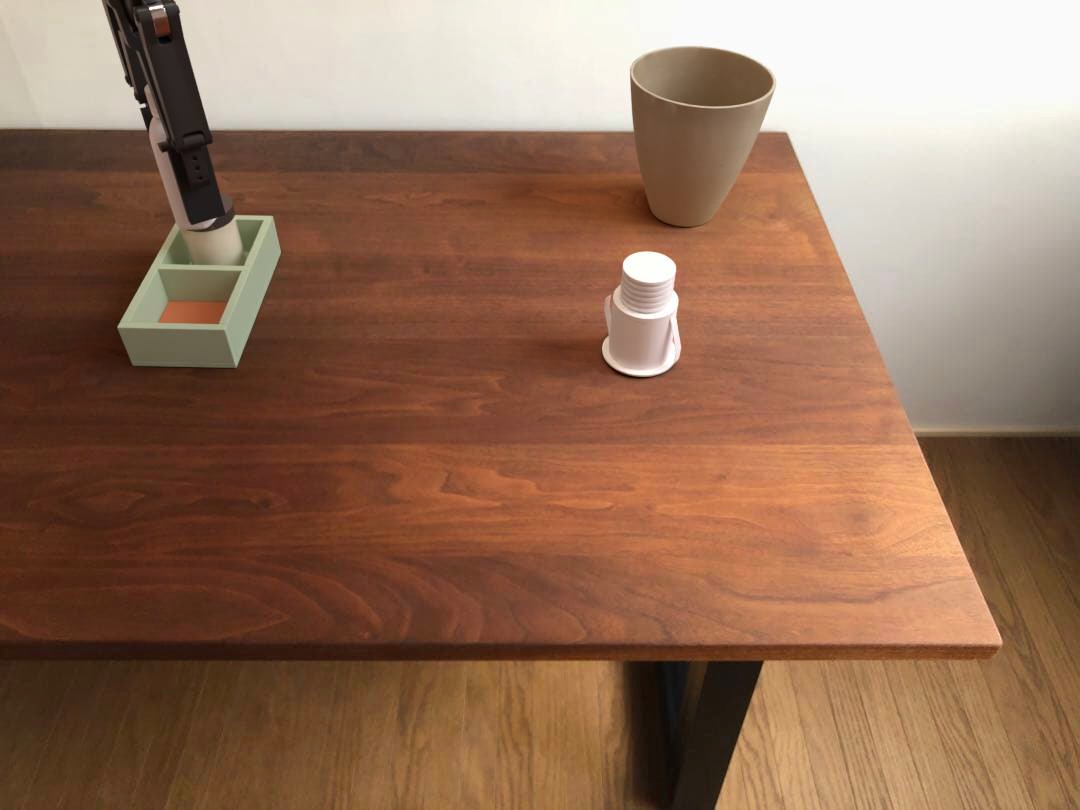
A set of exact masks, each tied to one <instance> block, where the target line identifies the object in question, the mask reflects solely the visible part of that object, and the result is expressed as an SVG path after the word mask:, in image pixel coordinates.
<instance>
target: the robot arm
mask: <svg viewBox="0 0 1080 810" xmlns="http://www.w3.org/2000/svg"><path fill="white" fill-rule="evenodd" d="M101 3H102V6H103V10H104V13H105V15H106V19H107V22H108V25H109V26H108V27H109V28H110V33H111V34H112V38H113V41H114V45H115V48H116V50H117V51H116V52H117V54H118V57H119V61H120V64H121V67H122V69H123V72H124V80H125V82H126V84H127V85H128V86H129V87H130V88H133V96H134V100H135V101H137V102H138V104H139V105H140V106H141V105H144V107H140V108H139V110H140V114H141V116H142V120H143V122H144V126H145V129H146V133H147V135H148V138H149V140H150V137H149V128H150V123H151V120H152V118H153V115H152V113H151V110H150V106H149V103H148V100H147V97H146V94H145V90H144V88H145V86H146V85H147V84H148V86H149V89H150V92H151V95H152V97H153V100H154V103H155V106H156V109H157V112H158V114H159V117H160V120H161V123H162V126H163V129H164V131H165V134H166V137H167V139H166V141H164V142H160V143H157V144H158V147H159V149H160V151H161V153H164V152H167V153H168V156H169V159H170V163H171V166H172V169H173V172H174V176H175V179H176V182H177V185H178V189H179V192H180V195H181V198H182V201H183V205H184V208H185V211H186V214H187V218H188V221H189V222H190V224H191V225H194V224H198V223H201V222H204V221H208V220H211V219H214V218H218V217H221V216H224V215H226V213H225V210H224V206H223V202H222V199H221V195H220V193H221V191H220V189H219V184H218V182H217V181H218V180H217V177H216V173H215V169H214V166H213V162H212V159H211V155H210V151H209V148H208V146H209V145H213V142H214V139H213V137H214V136H213V133H212V131H211V130H210V127H209V122H208V119H207V116H206V112H205V107H204V105H203V101H202V98H201V94H200V91H199V87H198V83H197V80H196V75H195V72H194V69H193V65H192V62H191V58H190V54H189V50H188V47H187V44H186V40H185V36H184V31H183V30H184V29H183V25H182V21H181V17H180V16H181V15H180V14H181V9H180V7H179V4H177V3H176V1H175V0H101Z"/></svg>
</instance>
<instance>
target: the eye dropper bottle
mask: <svg viewBox="0 0 1080 810" xmlns="http://www.w3.org/2000/svg"><path fill="white" fill-rule="evenodd" d="M144 90H145V94H146V97H147V100H148V103H149V106H150V110H151V113H152V115H153V118H152V120H151V123H150V128H149V135H148V138H149V137H150V139H149V141H150V145H151V150H152V152H153V156H154V158H155V162H156V165H157V169H158V171H159V174H160V177H161V180H162V184H163V187H164V190H165V193H166V195H167V199H168V203H169V206H170V209H171V212H172V215H173V218H174V220H175V221H174V222H175V223H176V224H177V226H178V227H179V228H180V229H182V230H195V229H205V228H207V227H209V226H210V225H211V224H212V223H213V222H214V221H215V220H216V218H214V219H211V220H208V221H204V222H201V223H198V224H194V225H191V224H190V222H189V221H188V218H187V214H186V211H185V208H184V205H183V201H182V198H181V195H180V192H179V189H178V185H177V182H176V179H175V176H174V172H173V169H172V166H171V163H170V159H169V156H168V153H167V152H164V153H161V151H160V149H159V147H158V144H157V143H160V142H164V141H166V139H167V137H166V134H165V131H164V129H163V126H162V123H161V120H160V117H159V114H158V112H157V109H156V106H155V103H154V100H153V97H152V95H151V92H150V89H149V86H148V84H147V85H146V86H145V88H144Z"/></svg>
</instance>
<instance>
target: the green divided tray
mask: <svg viewBox="0 0 1080 810" xmlns="http://www.w3.org/2000/svg"><path fill="white" fill-rule="evenodd" d="M235 218H236V221H237V225H238V229H239V233H240V237H241V241H242V244H243V248H244V252H245V256H246V262H245V264H244V266H225V265H192V263H191V259H190V256H189V253H188V250H187V247H186V243H185V240H184V237H183V234H182V231H181V229H180V228H179V227H178V226H177V224H176V222H175V223H174V224H173V226H172V228H171V229H170V231H169V234H168V235H167V237H166V239H165V241H164V242H163V244H162V246H161V248H160V250H159V252H158V253H157V254H156V256H155V259H154V260H153V262H152V264H151V266H150V267H149V269H148V271H147V273H146V274H145V276H144V278H143V280H142V281H141V283H140V285H139V287H138V288H137V291H136V293H135V294H134V296H133V298H132V300H131V302H130V303H129V305H128V307H127V309H126V310H125V312H124V314H123V316H122V318H121V319H120V322H119V323H118V325H117V327H116V329H117V330H118V333H119V335H120V337H121V341H122V343H123V345H124V348H125V350H126V352H127V355H128V358H129V360H130V363H131V364H132V366H133V367H169V368H170V367H171V368H214V369H215V368H219V369H220V368H221V369H224V368H225V369H237V367H238V365H239V363H240V360H241V357H242V355H243V352H244V349H245V347H246V345H247V342H248V339H249V336H250V334H251V333H252V329H253V326H254V324H255V322H256V319H257V316H258V313H259V311H260V308H261V306H262V304H263V301H264V298H265V295H266V293H267V290H268V288H269V285H270V283H271V281H272V279H273V275H274V272H275V270H276V268H277V264H278V262H279V259H280V257H281V254H282V250H281V245H280V241H279V237H278V233H277V228H276V223H275V220H274V216H273V215H253V214H252V215H246V214H235Z"/></svg>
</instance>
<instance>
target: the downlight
mask: <svg viewBox="0 0 1080 810" xmlns="http://www.w3.org/2000/svg"><path fill="white" fill-rule="evenodd" d="M621 272H622V273H621V282H620V284H619V285H618V286H617V287H616V288H615V290H613V294H609V295H608V296H607V297H606V298H605V299H604V306H603V314H604V318H605V323H606V327H607V332H608V335H607V336H606V337H605V338H604V340H603V342H602V347H601V352H602V356H603V359H604V360H605V361H606V363H607V364H608V365H609V366H610V367H611V368H613V369H614V370H616V371H618V372H620V373H621V374H625V375H627V376H632V377H641V378H643V377H653V376H657V375H661V374H663V373H665V372H667V371H668V370H669V369H671V368H672V366H674V365H675V364H676V362H678V360H680V357H681V351H682V344H681V338H680V332H679V327H678V319H677V314H678V308H679V296H678V294H677V292H676V291H675V290H674V287H675V279H676V273H677V266H676V263H675V262H674V260H672V259H671V258H670V257H669V256H667V255H665V254H663V253H661V252H657V251H656V252H655V251H638V252H635V253H632V254H629V255H627V257H625V259H624V261H623V263H622V271H621ZM611 296H613V297H612V307H610V306H611V305H610V304H611Z"/></svg>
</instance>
